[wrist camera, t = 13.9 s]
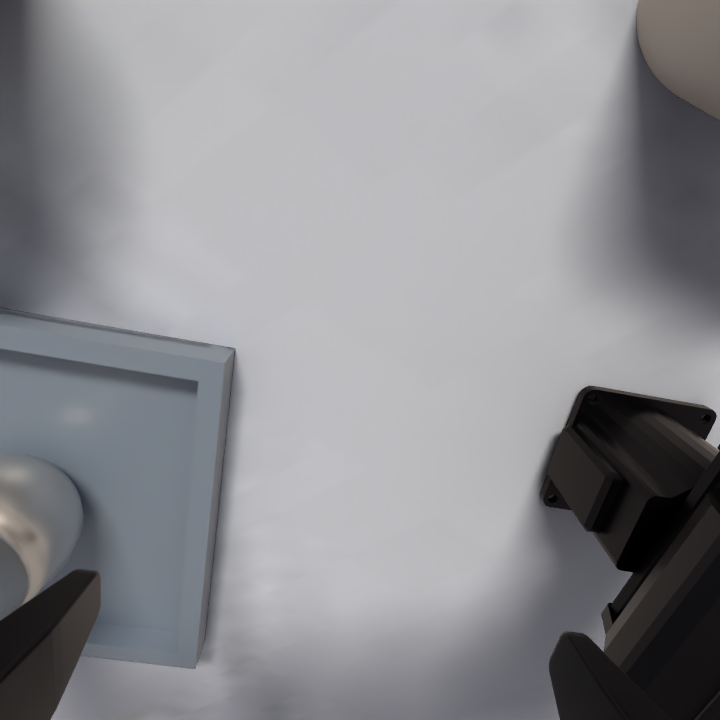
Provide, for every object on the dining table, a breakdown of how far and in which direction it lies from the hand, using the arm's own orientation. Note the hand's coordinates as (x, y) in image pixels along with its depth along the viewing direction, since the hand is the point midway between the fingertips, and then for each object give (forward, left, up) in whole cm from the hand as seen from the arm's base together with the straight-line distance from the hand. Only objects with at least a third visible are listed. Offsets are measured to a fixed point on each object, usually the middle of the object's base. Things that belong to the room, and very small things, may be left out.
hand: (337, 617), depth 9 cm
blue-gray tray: (+14, +9, -13) cm, 21 cm away
